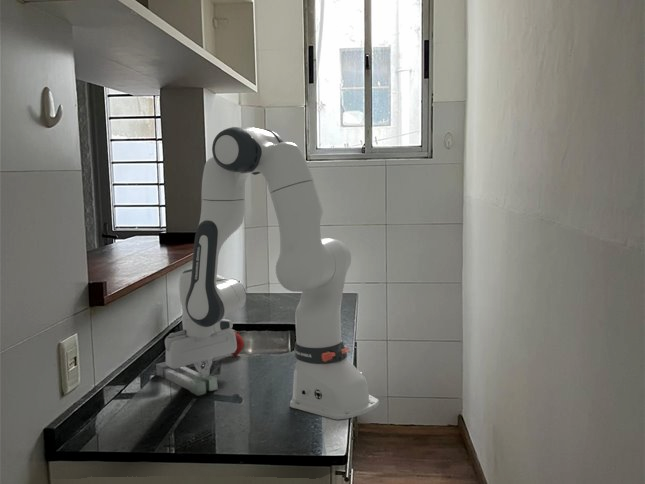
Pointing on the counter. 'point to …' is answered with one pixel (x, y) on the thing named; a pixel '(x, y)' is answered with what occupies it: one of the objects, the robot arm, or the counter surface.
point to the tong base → (181, 379)
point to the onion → (238, 344)
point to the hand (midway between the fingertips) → (204, 376)
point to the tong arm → (208, 379)
